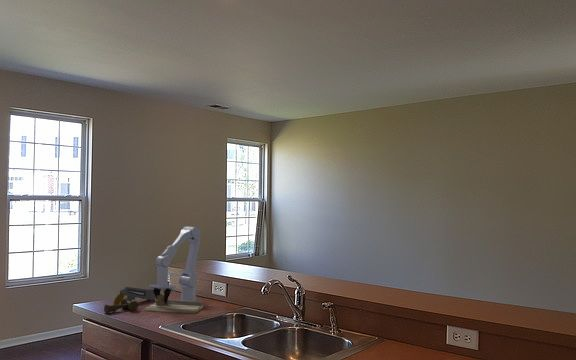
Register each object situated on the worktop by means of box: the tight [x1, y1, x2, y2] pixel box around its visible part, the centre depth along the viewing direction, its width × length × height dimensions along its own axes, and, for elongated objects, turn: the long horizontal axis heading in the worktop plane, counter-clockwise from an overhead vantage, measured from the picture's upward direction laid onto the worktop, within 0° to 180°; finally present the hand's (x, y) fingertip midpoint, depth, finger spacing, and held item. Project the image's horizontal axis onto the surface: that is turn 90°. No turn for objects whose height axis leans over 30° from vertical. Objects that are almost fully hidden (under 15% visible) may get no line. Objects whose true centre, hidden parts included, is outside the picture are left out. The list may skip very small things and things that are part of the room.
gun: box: [113, 285, 156, 305], centre depth 284 cm, size 3×25×15 cm, turn 136°
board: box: [144, 298, 204, 314], centre depth 267 cm, size 13×28×4 cm, turn 79°
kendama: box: [103, 297, 141, 315], centre depth 263 cm, size 6×10×20 cm
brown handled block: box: [154, 293, 167, 307], centre depth 268 cm, size 10×4×6 cm, turn 169°
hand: (162, 302), depth 271 cm, fingers closed on brown handled block, 4 cm apart
